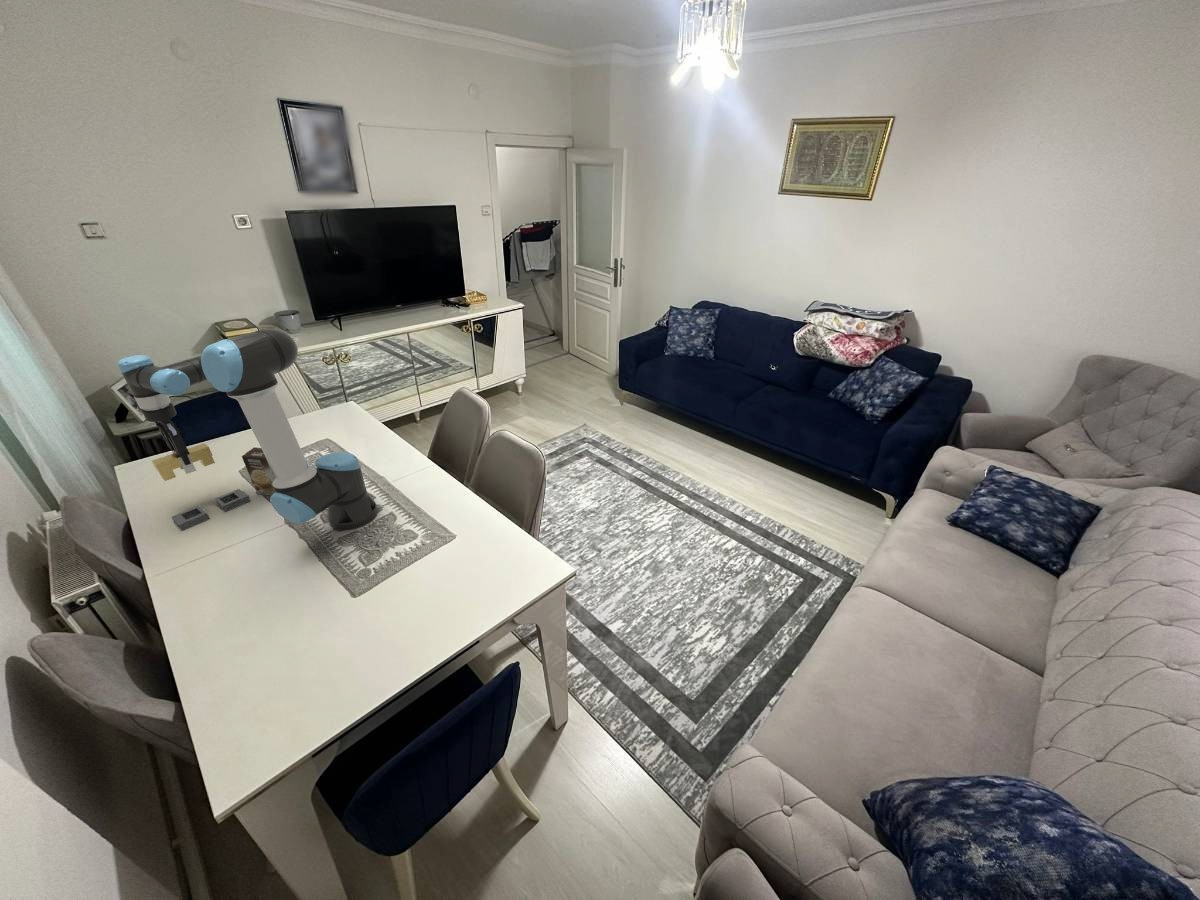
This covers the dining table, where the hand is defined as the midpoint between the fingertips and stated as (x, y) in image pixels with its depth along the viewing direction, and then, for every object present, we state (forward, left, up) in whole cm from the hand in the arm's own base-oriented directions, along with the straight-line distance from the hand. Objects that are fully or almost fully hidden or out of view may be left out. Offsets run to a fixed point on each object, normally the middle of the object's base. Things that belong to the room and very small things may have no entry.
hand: (188, 469), depth 160 cm
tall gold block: (0, 0, 0) cm, 0 cm away
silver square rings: (-7, 0, -14) cm, 16 cm away
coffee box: (-10, -18, -14) cm, 25 cm away
